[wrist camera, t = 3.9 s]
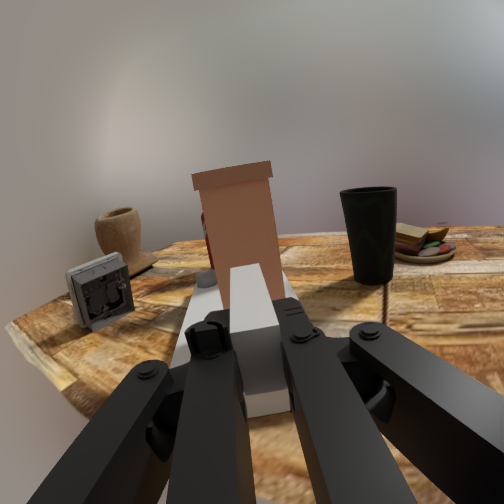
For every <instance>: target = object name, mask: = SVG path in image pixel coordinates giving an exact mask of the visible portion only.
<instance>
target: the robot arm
mask: <svg viewBox="0 0 504 504" xmlns="http://www.w3.org/2000/svg"><path fill="white" fill-rule="evenodd" d="M184 334H185V338H186V341H187V344H188V347H189V350H190V353H191V357H190V361H189V362H187V363H186V364H183V365H180V366H177V367H174V368H170V369H168V366H167V364H166V363H165V362H163V361H160V360H147V361H144V362H141V363H139V364H138V365H136V366H135V367H134V368H132V369H131V370H130V372H129V373H128V374H127V375H126V376H125V378H124V379H123V380H122V381H121V383H120V384H119V385H118V386H117V388H116V389H115V390H114V391H113V393H112V394H111V395H110V396H109V398H108V399H107V400H106V401H105V402H104V404H103V405H102V406H101V407H100V409H99V410H98V411H97V413H96V414H95V415H94V416H93V418H92V419H91V420H90V421H89V423H88V424H87V425H86V427H85V428H84V429H83V430H82V431H81V433H80V434H79V435H78V437H77V438H76V439H75V441H74V442H73V443H72V444H71V446H70V447H69V448H68V449H67V451H66V452H65V453H64V455H63V456H62V457H61V458H60V460H59V461H58V462H57V464H56V465H55V466H54V468H53V469H52V470H51V472H50V473H49V474H48V476H47V477H46V478H45V479H44V481H43V482H42V484H41V485H40V486H39V487H38V489H37V490H36V492H35V493H34V494H33V496H32V497H31V498H30V500H29V501H28V503H27V504H157V503H158V501H159V499H160V497H161V494H162V492H163V490H164V487H165V485H166V484H167V481H168V479H169V485H168V493H167V500H166V504H256V497H255V487H254V478H253V468H252V458H251V448H250V437H249V426H248V415H247V405H246V402H245V398H244V394H245V396H249V395H255V394H262V393H268V392H273V391H279V390H284V389H287V387H288V394H289V402H290V411H291V413H292V412H293V416H294V419H295V423H296V427H297V431H298V435H299V439H300V442H301V446H302V450H303V454H304V458H305V461H306V465H307V469H308V473H309V477H310V480H311V484H312V488H313V492H314V496H315V499H316V503H317V504H418V503H417V501H416V499H415V497H414V495H413V493H412V492H411V490H410V488H409V486H408V484H407V482H406V480H405V478H404V476H403V474H402V472H401V470H400V469H399V467H398V465H397V463H396V461H395V459H394V457H393V455H392V454H391V452H390V450H389V448H388V446H387V444H386V442H385V441H384V439H383V437H382V435H381V433H382V434H383V435H384V436H385V437H386V438H387V439H388V440H389V441H390V442H391V443H392V444H393V445H394V446H395V447H396V448H397V449H398V450H399V451H400V452H401V453H402V454H403V455H404V456H405V457H406V458H407V459H408V460H409V461H410V462H411V463H412V464H413V465H414V466H415V467H417V468H418V469H419V470H420V471H421V472H422V473H423V474H424V475H425V476H426V477H427V478H428V479H429V480H430V481H431V482H433V483H434V484H435V485H436V486H437V487H438V488H439V489H440V490H441V491H442V492H443V493H444V494H446V495H447V496H448V497H449V498H450V499H451V500H452V501H453V502H454V503H456V504H504V397H503V396H502V395H500V394H498V393H497V392H495V391H493V390H492V389H490V388H489V387H487V386H485V385H484V384H482V383H480V382H479V381H477V380H475V379H474V378H472V377H471V376H469V375H467V374H466V373H464V372H462V371H461V370H459V369H457V368H456V367H454V366H452V365H451V364H449V363H448V362H446V361H444V360H443V359H441V358H439V357H438V356H436V355H434V354H433V353H431V352H429V351H428V350H426V349H424V348H423V347H421V346H419V345H418V344H416V343H414V342H413V341H411V340H409V339H408V338H406V337H404V336H403V335H401V334H400V333H398V332H396V331H395V330H393V329H391V328H390V327H388V326H386V325H384V324H381V323H377V322H364V323H361V324H358V325H356V326H354V327H353V328H352V329H351V331H350V335H349V337H343V338H331V337H326V336H325V334H324V332H323V331H322V330H321V329H319V328H317V327H314V326H313V325H312V323H311V321H310V320H309V318H308V316H307V314H306V312H305V311H304V309H303V308H302V305H301V303H300V301H298V300H297V299H295V298H293V297H288V298H283V299H278V300H272V301H271V298H270V295H269V292H268V289H267V286H266V283H265V280H264V277H263V274H262V271H261V268H260V265H259V263H257V264H251V265H245V266H240V267H234V268H230V309H224V310H217V311H211V312H209V313H208V315H207V316H206V317H205V318H204V321H200V322H197V323H195V324H193V325H191V326H190V327H188V328H187V329H186V331H185V332H184ZM380 432H381V433H380ZM169 477H170V478H169Z"/></svg>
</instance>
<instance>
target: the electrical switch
mask: <svg viewBox="0 0 504 504" xmlns="http://www.w3.org/2000/svg"><path fill="white" fill-rule="evenodd" d="M65 277H66V281H67V285H68V289H69V293H70V296H71V300H72V303H73V307H74V310H75V314H76V317H77V320H78V323H79V325H80V326H81V327H82V328H86V327H88V328H90V329H91V330H92V331H93V332H96V331H97V330H99V329H101V328H103V327H105V326H107V325H109V324H110V323H112V322H114V321H116V320H118V319H120V318H122V317H123V316H125V315H127V314H129V313H131V312H133V311H134V310H135V309H134V303H133V297H132V291H131V284H130V278H129V270H128V265H127V264H125V263H123V260H122V255H121V254H120V253H118V252H114V253H111V254H108V255H106V256H103V257H101V258H98V259H95V260H93V261H90V262H88V263H85V264H83V265H80V266H78V267H75V268H73V269H70V270H68V271H67V272H66V274H65ZM124 279H125V280H124ZM125 284H126V287H125ZM133 309H134V310H133ZM114 314H115V315H114ZM109 315H111V317H110V318H107V316H109ZM116 315H117V316H116ZM104 318H105V319H106V320H105V319H104Z"/></svg>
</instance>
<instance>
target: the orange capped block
mask: <svg viewBox="0 0 504 504" xmlns="http://www.w3.org/2000/svg"><path fill="white" fill-rule="evenodd" d="M270 177H273V174H272V168H271V162H270V161H263V162H257V163H250V164H244V165H238V166H232V167H226V168H221V169H216V170H211V171H205V172H200V173H195V174H192V181H193V186H194V191H196V190H199V192H200V198H201V203H202V209H203V214H204V219H205V224H206V229H207V235H208V239H209V244H210V249H211V254H212V259H213V264H214V268H215V273H216V278H217V282H218V287H219V291H220V296H221V300H222V305H223V309H230V268H234V267H240V266H245V265H251V264H257V263H259V265H260V268H261V271H262V274H263V277H264V280H265V283H266V286H267V289H268V292H269V295H270V298H271V301H272V300H278V299H283V298H286V296H285V288H284V281H283V274H282V266H281V259H280V252H279V245H278V238H277V232H276V225H275V218H274V212H273V205H272V199H271V193H270V186H269V180H268V178H270Z"/></svg>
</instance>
